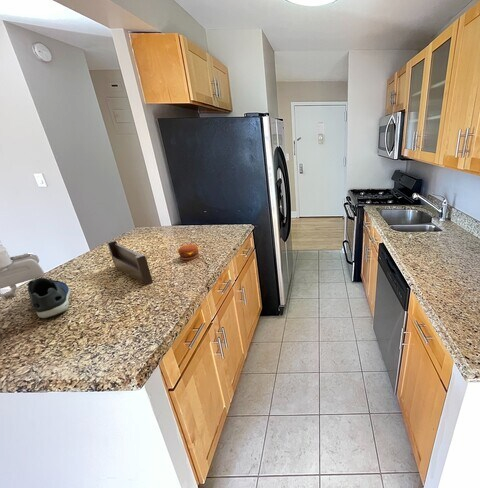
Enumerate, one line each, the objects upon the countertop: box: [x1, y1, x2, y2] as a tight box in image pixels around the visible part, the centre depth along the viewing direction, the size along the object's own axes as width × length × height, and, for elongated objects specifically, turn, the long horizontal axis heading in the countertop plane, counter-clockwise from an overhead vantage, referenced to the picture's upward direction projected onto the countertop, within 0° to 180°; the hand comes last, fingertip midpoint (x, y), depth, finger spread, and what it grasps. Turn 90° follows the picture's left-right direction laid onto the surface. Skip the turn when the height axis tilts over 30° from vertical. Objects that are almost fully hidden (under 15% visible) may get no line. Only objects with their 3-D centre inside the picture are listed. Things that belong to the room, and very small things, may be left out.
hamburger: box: [175, 243, 202, 261], centre depth 136 cm, size 9×10×7 cm
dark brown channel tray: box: [106, 239, 154, 286], centre depth 118 cm, size 3×32×13 cm, turn 56°
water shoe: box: [27, 276, 71, 319], centre depth 98 cm, size 10×29×12 cm, turn 51°
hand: (10, 297), depth 90 cm, fingers closed
